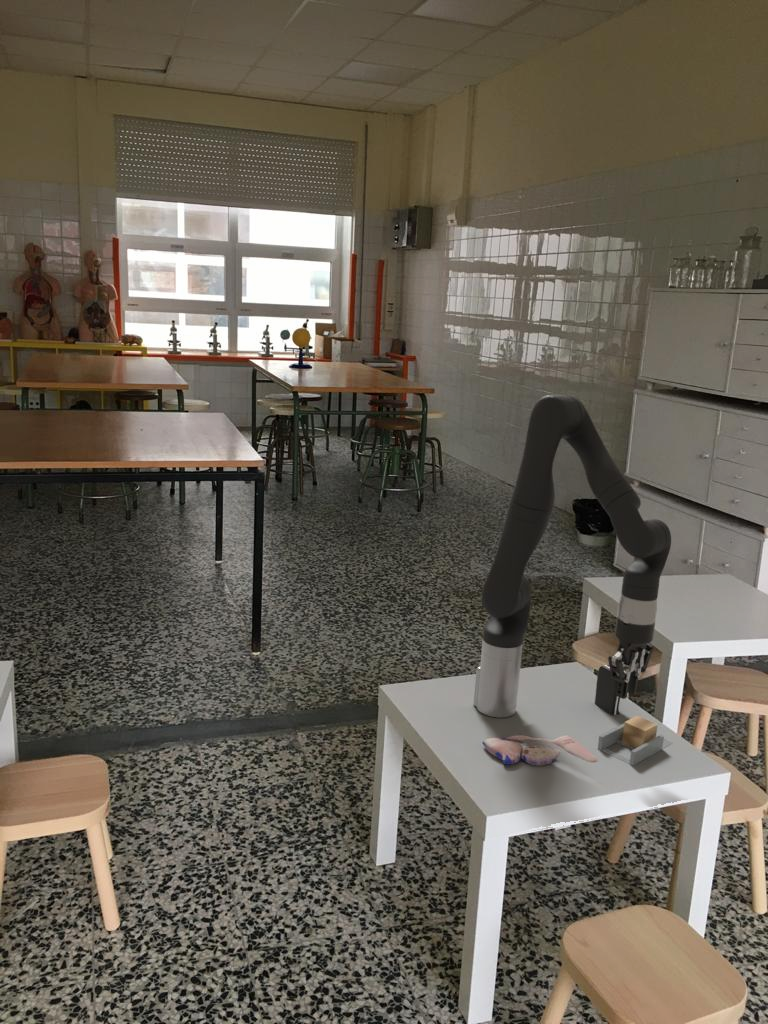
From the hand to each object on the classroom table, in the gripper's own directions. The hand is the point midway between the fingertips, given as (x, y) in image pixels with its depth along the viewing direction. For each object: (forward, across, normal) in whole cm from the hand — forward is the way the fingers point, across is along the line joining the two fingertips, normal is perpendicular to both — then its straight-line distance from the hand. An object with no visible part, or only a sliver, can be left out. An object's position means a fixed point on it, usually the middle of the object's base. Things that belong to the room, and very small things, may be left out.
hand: (625, 694), depth 175 cm
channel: (+15, -7, 0) cm, 17 cm away
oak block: (+14, -8, 0) cm, 16 cm away
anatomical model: (+16, +12, -11) cm, 23 cm away
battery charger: (+15, -18, -14) cm, 27 cm away
